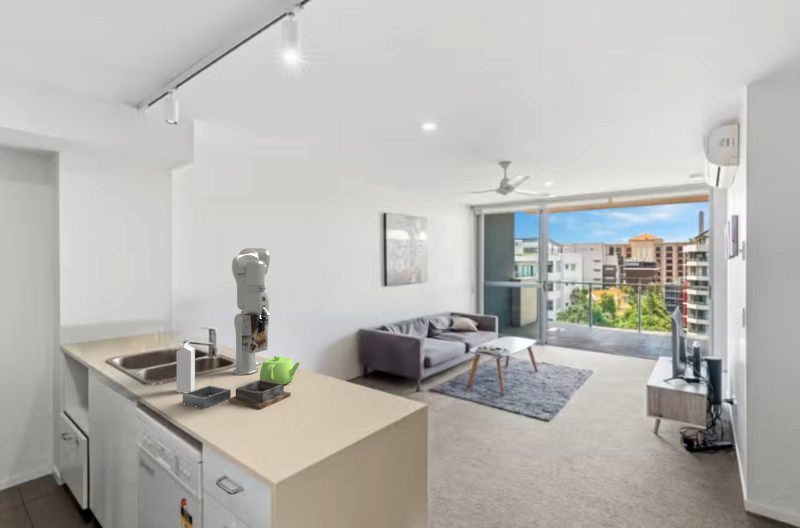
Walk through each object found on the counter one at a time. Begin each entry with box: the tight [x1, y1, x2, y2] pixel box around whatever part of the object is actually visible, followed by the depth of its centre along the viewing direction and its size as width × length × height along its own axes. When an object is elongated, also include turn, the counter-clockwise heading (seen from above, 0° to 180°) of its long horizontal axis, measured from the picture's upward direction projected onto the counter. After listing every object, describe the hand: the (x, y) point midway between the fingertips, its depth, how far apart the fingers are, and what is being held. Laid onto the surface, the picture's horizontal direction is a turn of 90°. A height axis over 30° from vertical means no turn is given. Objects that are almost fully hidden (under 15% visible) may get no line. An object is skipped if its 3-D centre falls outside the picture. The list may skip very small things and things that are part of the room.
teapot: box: [259, 355, 301, 385], centre depth 197 cm, size 18×20×13 cm
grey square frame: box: [182, 385, 232, 410], centre depth 171 cm, size 13×13×4 cm
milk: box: [176, 341, 196, 393], centre depth 184 cm, size 6×6×22 cm
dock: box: [227, 379, 292, 410], centre depth 174 cm, size 18×18×6 cm
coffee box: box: [242, 314, 269, 354], centre depth 174 cm, size 9×6×16 cm
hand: (255, 330), depth 174 cm, fingers closed on coffee box, 6 cm apart
